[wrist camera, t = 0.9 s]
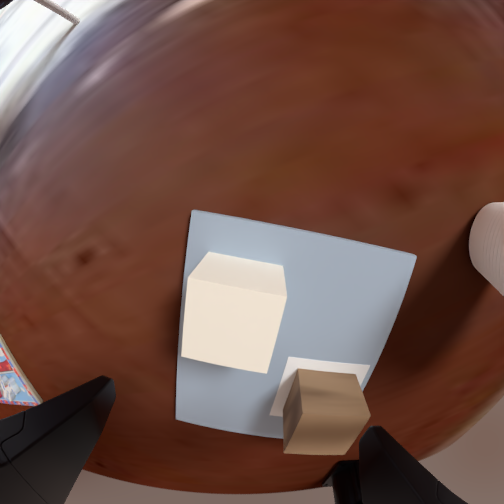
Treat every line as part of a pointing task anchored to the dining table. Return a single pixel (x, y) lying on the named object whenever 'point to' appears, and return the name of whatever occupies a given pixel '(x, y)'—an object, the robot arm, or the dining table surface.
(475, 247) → the cup
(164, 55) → the dining table surface
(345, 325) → the mat
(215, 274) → the cream block
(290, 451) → the walnut block
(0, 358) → the puzzle board
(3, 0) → the lollipop
